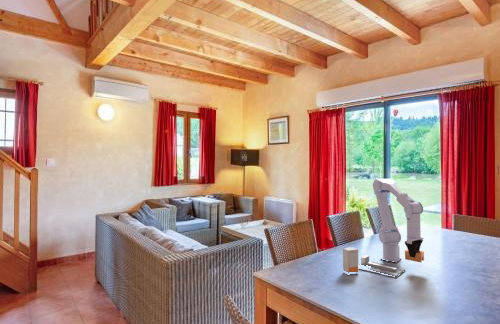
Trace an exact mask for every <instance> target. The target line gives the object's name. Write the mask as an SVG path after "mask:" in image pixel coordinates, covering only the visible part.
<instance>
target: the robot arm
mask: <svg viewBox="0 0 500 324" xmlns="http://www.w3.org/2000/svg"><path fill="white" fill-rule="evenodd" d="M372 188H373V189H372V190H373V193H374V195H375V197H376V201H377V207H378V211H379V215H380V220H381V224H382V226H381V227H380V228H379V229H378V234H379V235H378V239H379V241H380V242H381V244H382V258H383V259H385V260H388V261H394V262H396V263H398V262H400V261H401V260H402V257H401V255H400V251H401V249H400V245H399V244H400V243H401V241H402V235H401V233H400V231H399V228H398V227H397V226H396V225H394V223H393V219H392V215H391V210H390V205H389V202H388V198H387V196H388V195H390V194H392V195H393V196H394V197H396V202H398V204H400V206H402V208H403V212H404V214H405V218H406V241H404V244H405V246H406V249H408V252H409V255H410V257H415V255H416V250H419V251H421V250H420V249H421V245H422V243H423V242H424V236H422V235H421V214H423V211H424V206H423V204H422V203H421V202H420V201H417V200H416V201H415V200H414V199H413V198H412V197H411V196H409V194H408V193H407V192H402V191H401V190H400V189H399V188H398V186H397V185H396V182H395V180H394V179H393V178H378V179H377V178H376V179H373V182H372ZM400 259H401V260H400ZM388 261H387V262H388ZM397 261H398V262H397Z"/></svg>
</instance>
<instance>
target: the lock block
mask: <svg viewBox="0 0 500 324" xmlns="http://www.w3.org/2000/svg"><path fill="white" fill-rule="evenodd" d="M404 260H407V261H411V262H417V263H422V262H423V261H425V252H424V251H423V250H416V255H415V257H410V255H409V252H408V248H406V249H405V250H404Z"/></svg>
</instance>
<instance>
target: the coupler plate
mask: <svg viewBox="0 0 500 324" xmlns="http://www.w3.org/2000/svg"><path fill="white" fill-rule="evenodd" d="M369 261H370V255H368V254H364V255H363V256H361V258H360V264H361V265H364V266H366V265H368V266H371V268H370V270H373V271H376V272H380V273H384V274H388V275H392V276H395V277H397V276H398V275H399V274H401V273H402V272H403V271H404V272H406V268H402V267H398V266H393V265H389V264H388V265H387V264H384V263H379V262H374V261H371V262H369ZM368 269H369V268H368ZM404 272H403V273H404ZM403 273H402V274H403ZM402 274H401V275H402ZM398 277H399V276H398ZM398 277H397V278H398Z"/></svg>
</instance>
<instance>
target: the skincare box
mask: <svg viewBox="0 0 500 324" xmlns="http://www.w3.org/2000/svg"><path fill="white" fill-rule="evenodd" d="M358 265H359V249H358V248H356V247H351V246H350V247H345V248H344V247H343V248H342V271H343V270H344V271H346V272H348V273H349V272H358V273H359V269H358Z"/></svg>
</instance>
